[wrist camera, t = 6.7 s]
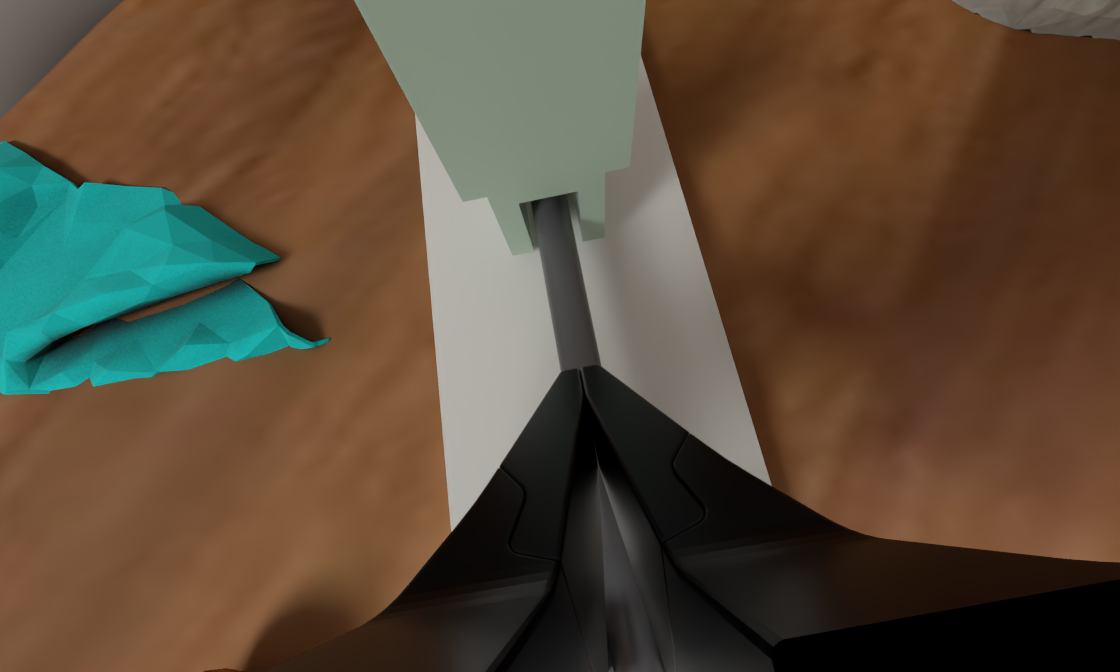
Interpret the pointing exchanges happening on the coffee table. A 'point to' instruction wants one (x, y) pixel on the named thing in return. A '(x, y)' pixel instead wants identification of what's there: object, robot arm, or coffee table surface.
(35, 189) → the cloth
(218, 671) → the kendama
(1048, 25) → the ceramic cottage
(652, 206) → the white board with rod
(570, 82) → the sage green stepped block
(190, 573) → the coffee table surface
